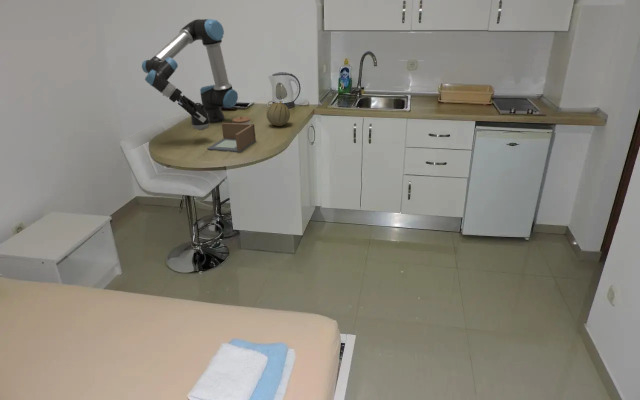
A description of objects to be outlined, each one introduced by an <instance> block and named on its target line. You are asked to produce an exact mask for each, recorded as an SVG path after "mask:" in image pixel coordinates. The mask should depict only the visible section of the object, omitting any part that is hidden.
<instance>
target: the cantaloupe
mask: <svg viewBox="0 0 640 400" xmlns="http://www.w3.org/2000/svg"><path fill="white" fill-rule="evenodd" d="M290 118H291V112H290V109H289V107H288V106H287V105H286V104H284V103H282V102H281V101H279V102H274V103H271V104H270V105H269V107H268V108H267V110H266V119H267V120H268V122H269V123H270V124H271V125H273V126H275V127H282V126H285V125H286V124H287V123H288V122H289V120H290Z"/></svg>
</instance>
